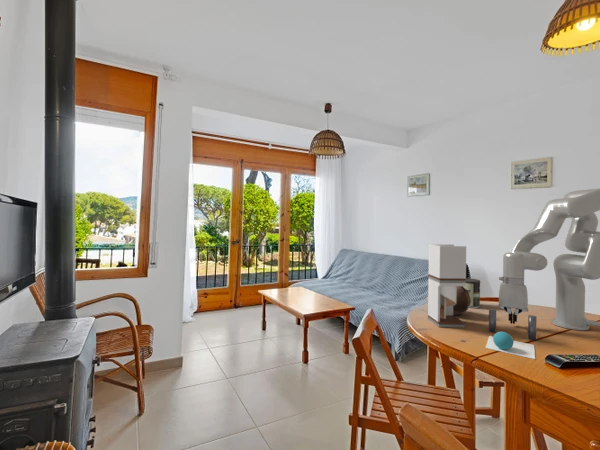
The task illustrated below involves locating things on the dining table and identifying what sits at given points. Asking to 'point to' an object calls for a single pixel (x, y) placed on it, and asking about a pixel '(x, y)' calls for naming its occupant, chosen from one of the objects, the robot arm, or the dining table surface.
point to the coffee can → (473, 291)
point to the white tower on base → (445, 282)
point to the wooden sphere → (461, 301)
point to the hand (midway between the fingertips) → (512, 322)
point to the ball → (503, 340)
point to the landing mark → (514, 348)
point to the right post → (532, 327)
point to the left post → (492, 320)
